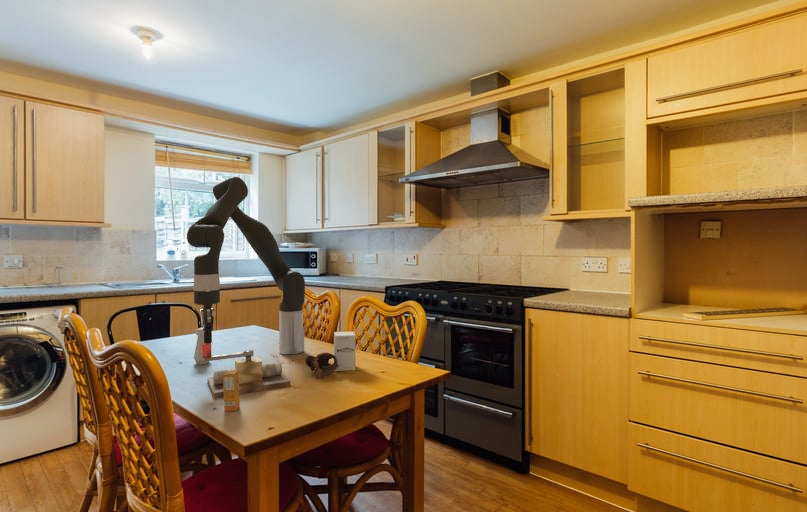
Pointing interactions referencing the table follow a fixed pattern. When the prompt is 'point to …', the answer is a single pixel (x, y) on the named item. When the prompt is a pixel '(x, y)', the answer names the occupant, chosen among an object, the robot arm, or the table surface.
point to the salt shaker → (199, 347)
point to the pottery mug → (321, 364)
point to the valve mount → (250, 377)
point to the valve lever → (207, 354)
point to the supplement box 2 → (345, 350)
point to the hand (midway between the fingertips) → (207, 343)
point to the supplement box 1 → (231, 391)
